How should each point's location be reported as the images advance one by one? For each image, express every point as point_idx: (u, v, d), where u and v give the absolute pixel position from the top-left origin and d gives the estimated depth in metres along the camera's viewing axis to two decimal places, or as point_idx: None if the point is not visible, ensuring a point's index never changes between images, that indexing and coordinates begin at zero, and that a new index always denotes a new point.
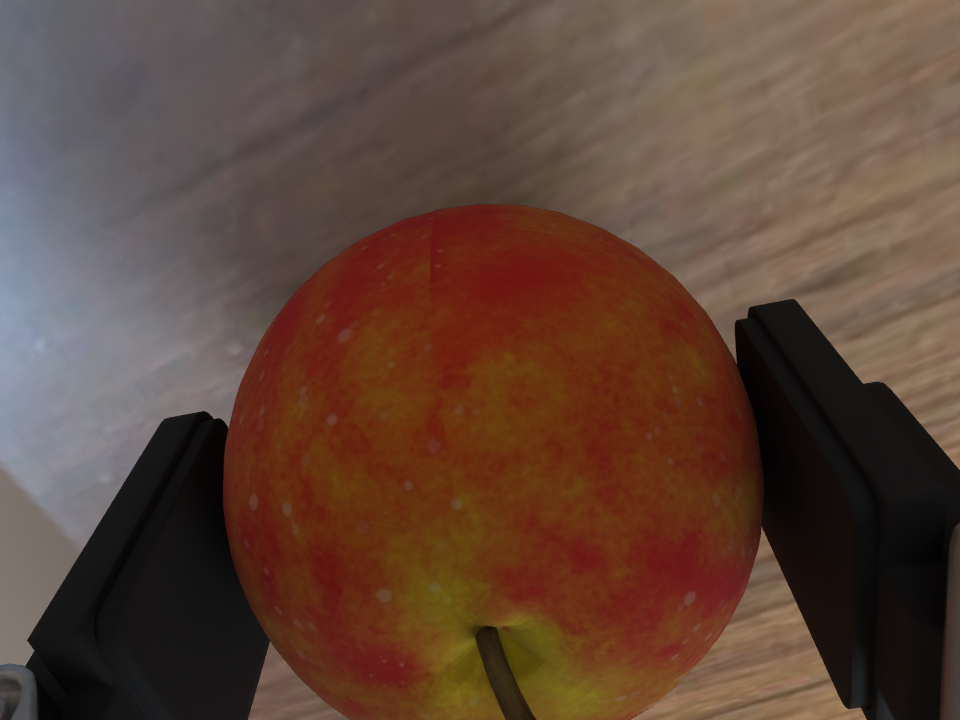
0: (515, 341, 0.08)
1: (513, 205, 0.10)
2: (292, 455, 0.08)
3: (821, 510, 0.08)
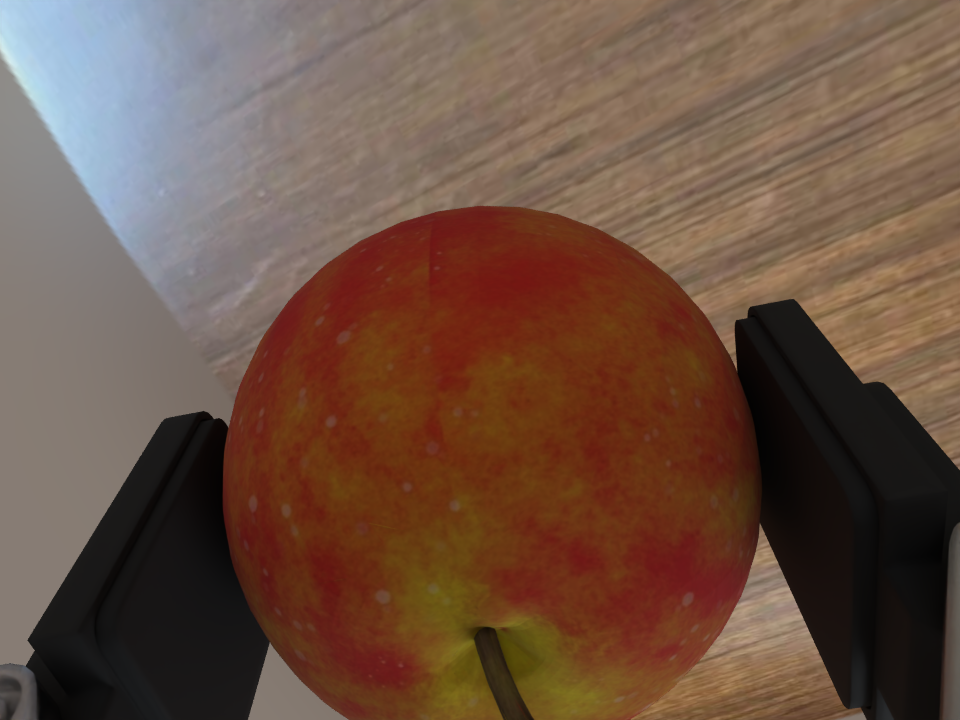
0: (513, 343, 0.08)
1: (512, 207, 0.10)
2: (291, 457, 0.08)
3: (821, 510, 0.08)
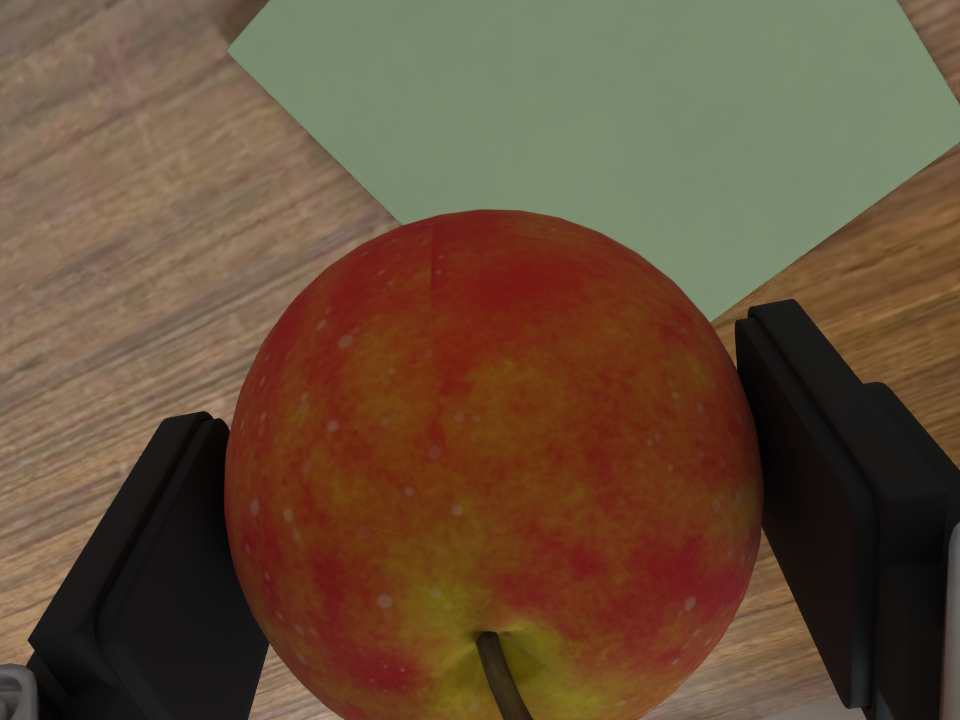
0: (515, 347, 0.08)
1: (513, 210, 0.10)
2: (293, 462, 0.08)
3: (820, 509, 0.08)
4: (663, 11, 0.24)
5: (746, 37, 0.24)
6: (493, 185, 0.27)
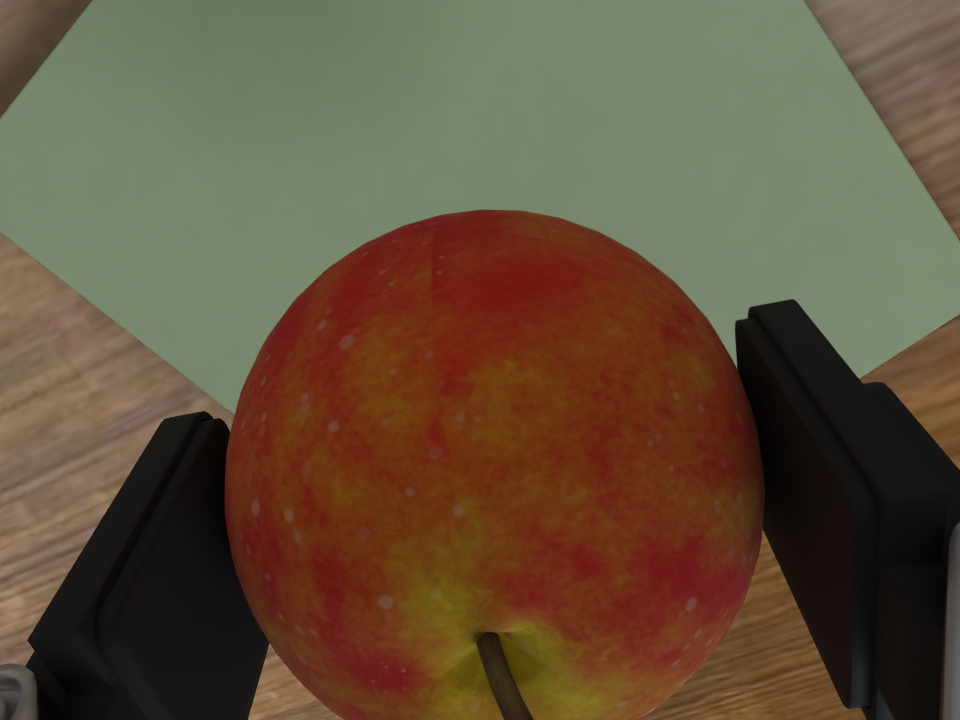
0: (515, 347, 0.08)
1: (514, 210, 0.10)
2: (294, 462, 0.08)
3: (821, 509, 0.08)
4: (556, 140, 0.17)
5: (675, 173, 0.17)
6: None
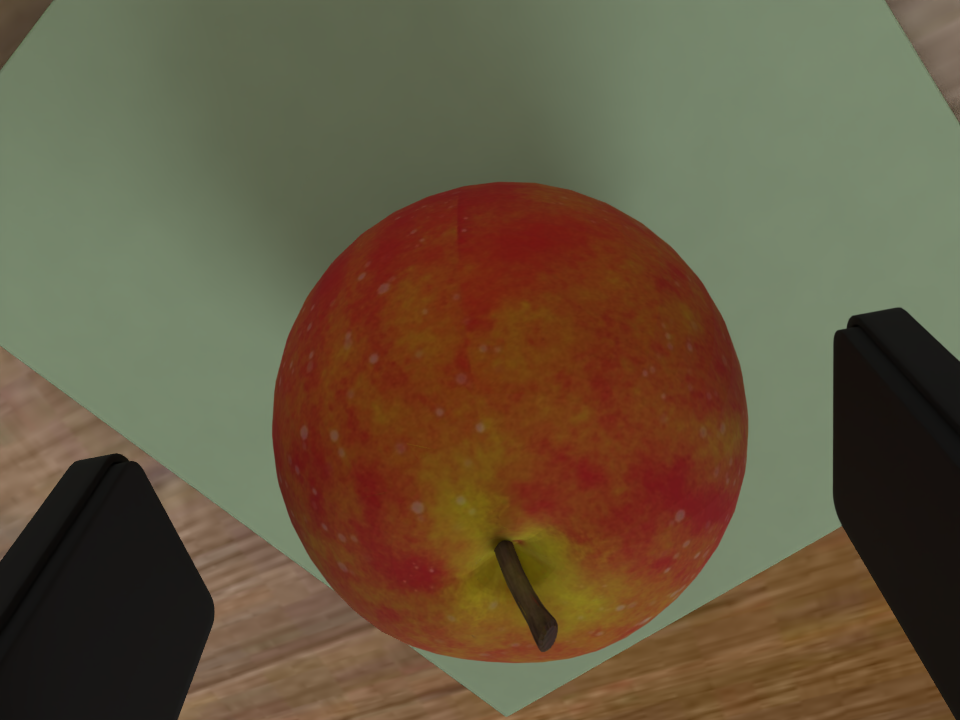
0: (531, 291, 0.09)
1: (528, 182, 0.11)
2: (338, 390, 0.09)
3: None
4: (593, 195, 0.14)
5: (735, 234, 0.14)
6: None
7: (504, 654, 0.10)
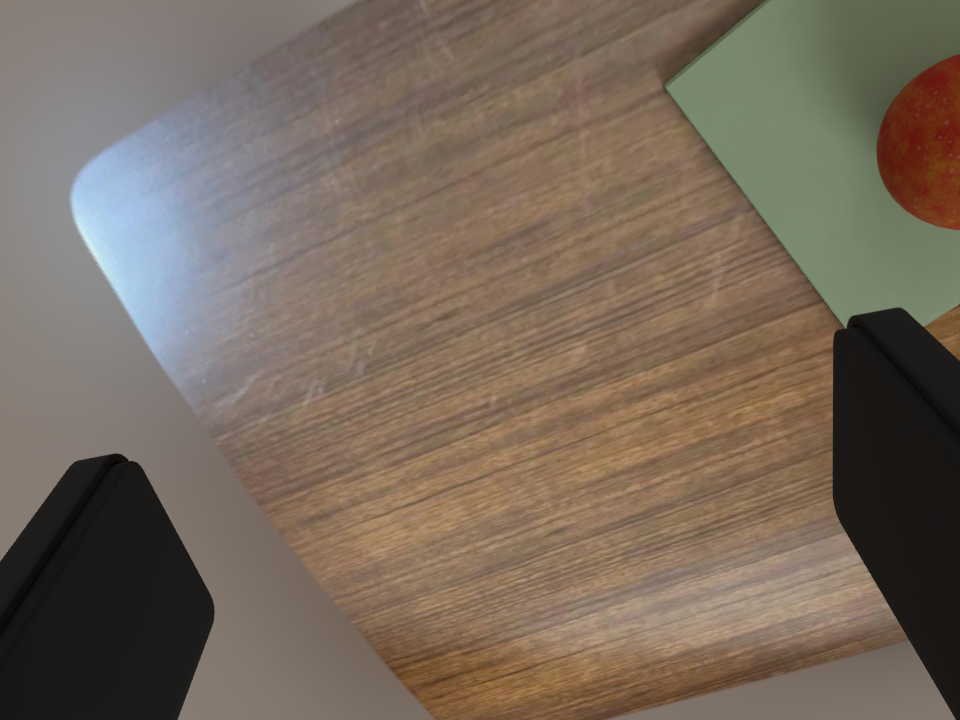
0: None
1: None
2: None
3: None
4: None
5: None
6: (835, 187, 0.36)
7: None
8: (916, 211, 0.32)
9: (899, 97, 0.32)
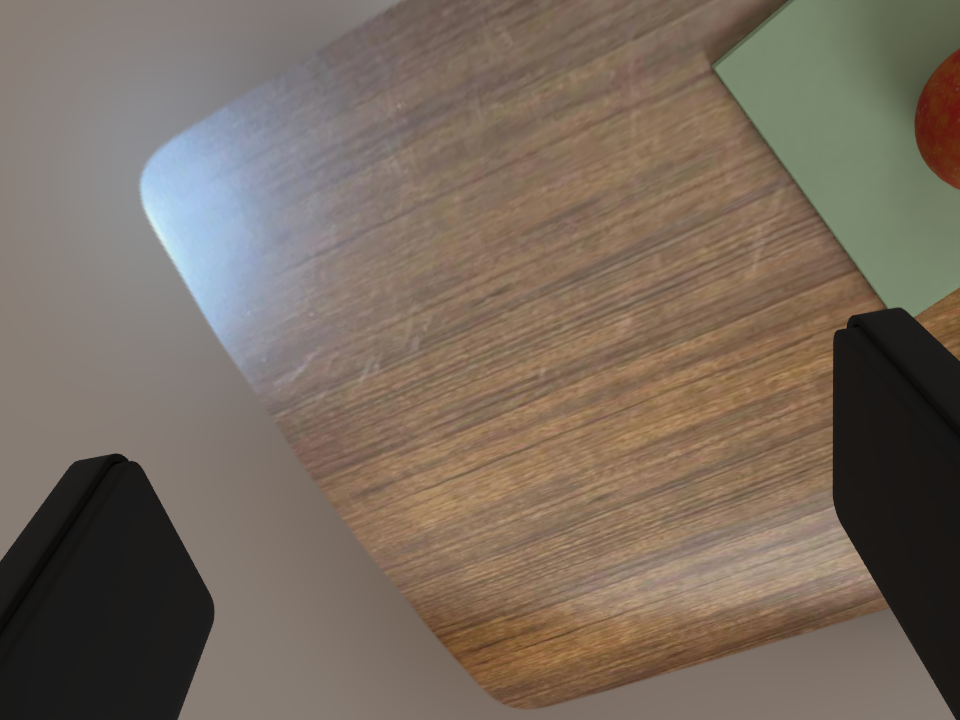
0: None
1: None
2: None
3: None
4: None
5: None
6: (871, 161, 0.38)
7: None
8: (954, 180, 0.34)
9: (937, 73, 0.34)
